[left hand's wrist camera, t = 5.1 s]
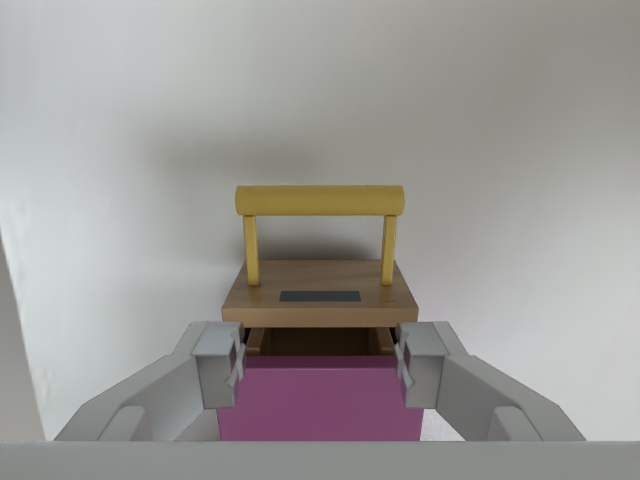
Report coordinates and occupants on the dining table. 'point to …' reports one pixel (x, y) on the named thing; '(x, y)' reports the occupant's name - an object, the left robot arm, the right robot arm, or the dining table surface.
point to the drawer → (319, 279)
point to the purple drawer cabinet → (320, 400)
